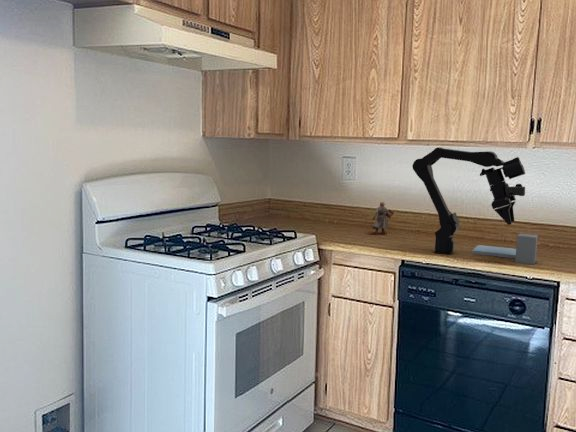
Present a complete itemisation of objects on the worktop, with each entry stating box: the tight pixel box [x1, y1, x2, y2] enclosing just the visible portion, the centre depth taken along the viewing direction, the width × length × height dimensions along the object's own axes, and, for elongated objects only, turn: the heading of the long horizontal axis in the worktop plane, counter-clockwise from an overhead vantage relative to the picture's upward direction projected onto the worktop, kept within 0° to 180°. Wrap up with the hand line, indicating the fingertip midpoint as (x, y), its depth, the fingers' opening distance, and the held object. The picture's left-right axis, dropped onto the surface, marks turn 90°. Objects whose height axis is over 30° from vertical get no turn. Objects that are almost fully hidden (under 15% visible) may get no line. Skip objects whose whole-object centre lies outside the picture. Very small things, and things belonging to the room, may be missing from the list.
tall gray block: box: [514, 233, 539, 266], centre depth 206 cm, size 6×6×10 cm
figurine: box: [370, 201, 395, 235], centre depth 260 cm, size 14×7×15 cm, turn 111°
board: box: [471, 244, 516, 259], centre depth 222 cm, size 20×14×1 cm
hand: (511, 223), depth 207 cm, fingers open, 9 cm apart
